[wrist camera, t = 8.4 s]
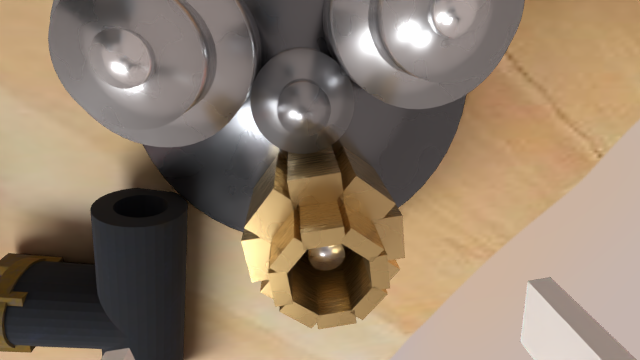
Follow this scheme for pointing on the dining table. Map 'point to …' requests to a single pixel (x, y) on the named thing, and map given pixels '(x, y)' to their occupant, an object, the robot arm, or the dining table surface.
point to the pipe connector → (106, 284)
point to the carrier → (279, 85)
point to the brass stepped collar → (323, 236)
